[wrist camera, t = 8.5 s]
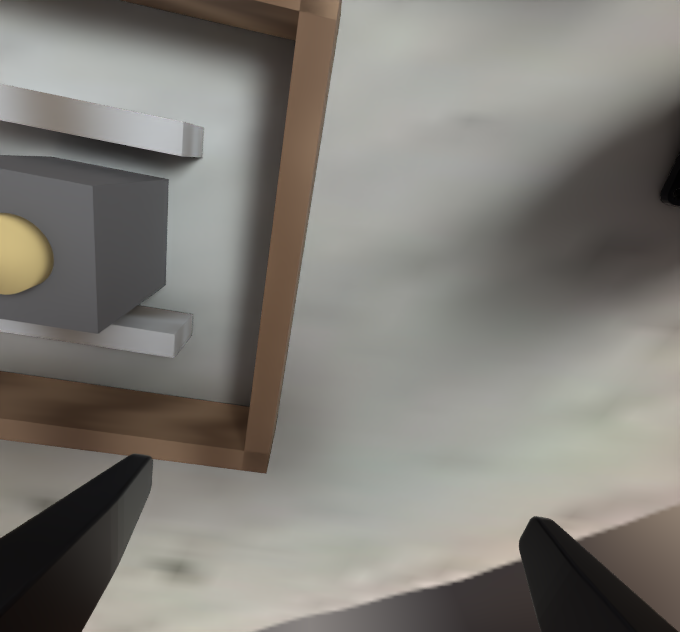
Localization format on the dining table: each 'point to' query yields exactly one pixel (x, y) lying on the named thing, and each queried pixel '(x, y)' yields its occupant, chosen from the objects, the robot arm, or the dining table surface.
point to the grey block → (78, 241)
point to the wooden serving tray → (170, 326)
